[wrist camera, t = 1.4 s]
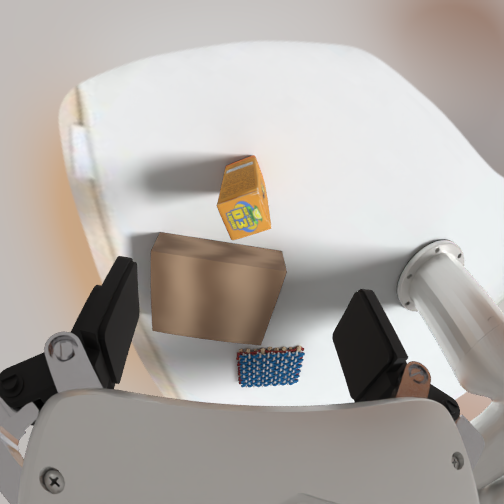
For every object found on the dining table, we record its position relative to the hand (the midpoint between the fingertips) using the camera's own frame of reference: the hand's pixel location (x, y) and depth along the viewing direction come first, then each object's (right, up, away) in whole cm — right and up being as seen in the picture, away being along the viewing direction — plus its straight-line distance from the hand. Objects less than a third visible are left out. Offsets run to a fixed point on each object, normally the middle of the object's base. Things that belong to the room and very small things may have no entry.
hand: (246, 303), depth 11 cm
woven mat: (+3, -16, +33) cm, 37 cm away
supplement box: (-1, +10, +16) cm, 19 cm away
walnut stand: (-4, -2, +23) cm, 24 cm away
